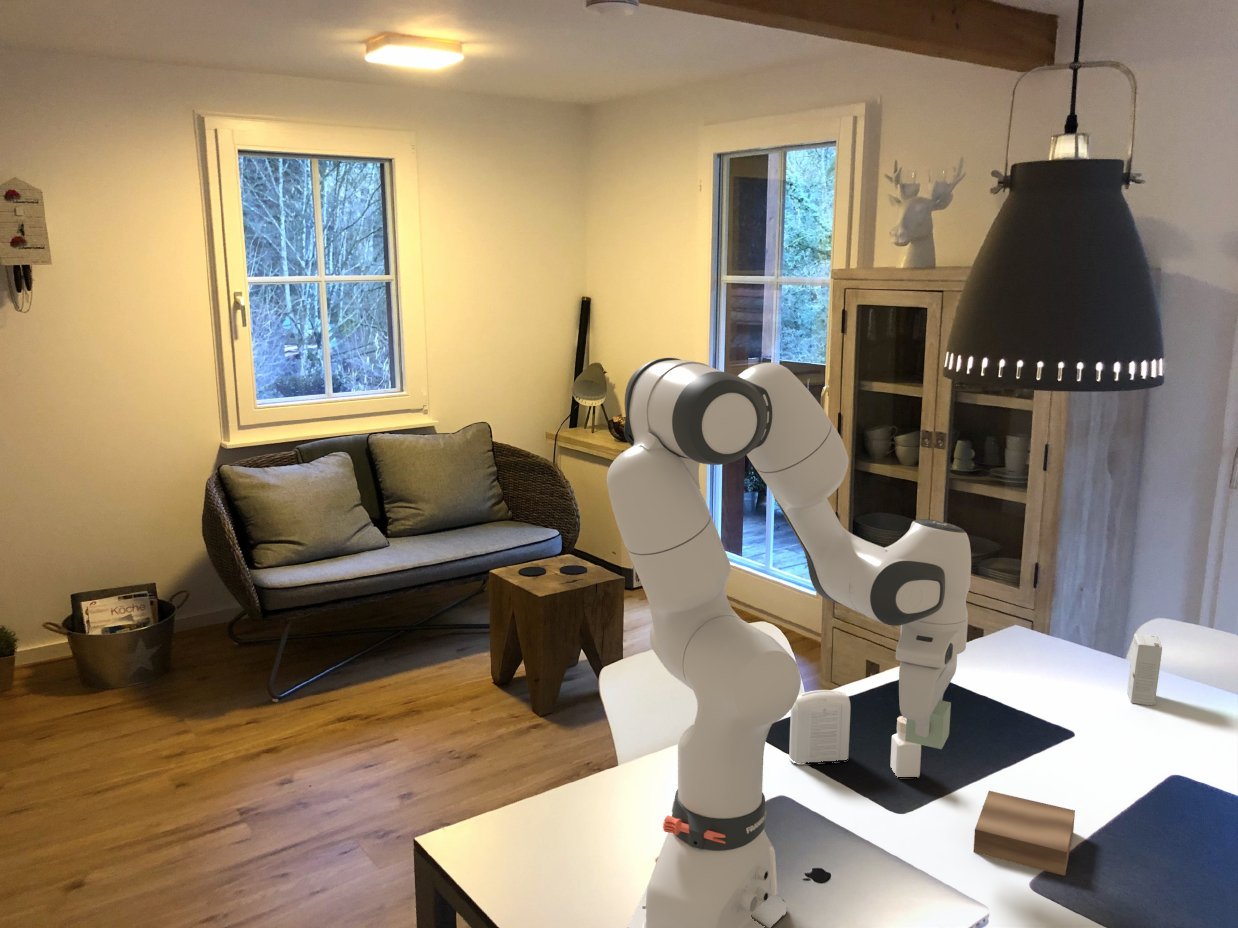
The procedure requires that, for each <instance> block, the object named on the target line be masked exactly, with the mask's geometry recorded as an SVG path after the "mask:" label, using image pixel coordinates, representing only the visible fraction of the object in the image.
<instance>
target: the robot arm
mask: <svg viewBox="0 0 1238 928" xmlns="http://www.w3.org/2000/svg"><path fill="white" fill-rule="evenodd" d="M623 404H624V415H625V418H624V426H623V435H624V438H625V440H626V442H628V444H629V445H630V447H629V448H627V449H625V450H624V451H623V452H621V453H620V454H619V455H617V456H616V458H615V459H614V460H613V461H612V462H611V464H610V465H609V468H608V470H607V473H606V475H607V476H606V484H607V485H606V486H607V492H608V495H609V502H610V505H611V509H612V512H613V516H614V519H615V522H616V526H617V529H618V531H619V534H620V537H621V539H622V542H623V544H624V546H625V549H626V551H627V552H628V553H627V554H628V556H629V558H630V560H631V562H632V565H633V567H634V569H635V572H636V574H637V576H638V578H639V581H640V584H641V586H642V588H643V591H644V593H645V596H646V599H647V602H648V605H649V609H650V610H649V611H650V615H651V619H652V622H651V625H650V629H649V642H650V645H651V649H652V651H653V653H654V654H655V656H656V657H657V659H658V661H659V662H660V663H661V664H662V666H663V667H664V668H665V669H666V671H668V673H669V674H670V675H671V676H673V677H674V678H675V679H677V680H678V681H680V682H681V684H683V685H685V686H686V687H687V688H688V689H690V690H691V691H693V693H694V696H695V699H696V704H697V705H696V706H697V708H696V709H697V710H696V716H695V720H694V722H693V724H691V725H690V726H689V727H687V728H686V729H685V730H684V731H683V732H682V733H681V735H680V737H679V739H678V742H677V789H676V791H675V795H674V799H673V802H672V807H671V816H670V815H666V816H665V818H664V819H663V823H662V828H663V829H662V831H664V832H665V833H667V834H666V837H665V839H664V842H663V844H662V847H661V850H660V853H659V855H658V856H657V860H656V862H655V865H654V868H653V870H652V873H651V876H650V879H649V881H648V884H647V886H646V888H645V890H644V892H643V894H642V897H641V898H640V900H639V902H638V905H637V906H636V909H635V910H634V912H633V915H632V917H631V919H630V921H629V923H628V925H627V928H764V927H765V926H762V925H761V924H759V923H758V922H757V921H754V919H752V917H751V914H752V913H754V911H755V910H756V909H757V908H758V907H759V906H760V905H761V904H762V903H763V902H766V901H767V899H768V898H769V897H770V896H772V895H776V894H778V884H777V883H778V881H777V880H778V879H777V863H776V851H775V848H774V845H772V843H771V841H770V839H769V838H768V835H767V833H766V831H765V826H766V817H767V804H766V798H765V794H764V792H763V782H764V781H763V779H764V778H763V776H764V775H763V774H764V756H765V755H764V754H765V753H764V752H765V745H766V742H767V738H768V735H769V733H770V729H771V727H772V725H773V724H775V723H777V722H779V721H780V720H781V719H782V718H784V717H785V716H786V715H787V714H789V713H790V712H791V708H792V707H793V705H794V703H795V702H796V699H797V697H798V695H799V694H800V690H801V683H802V682H801V681H802V680H801V679H802V678H801V671H800V669H799V668H800V667H799V665H798V664H797V662H796V661H795V659H794V658H793V657H792V656H791V654H790V653H789V652H788V651H787V649H785V648H784V647H783V646H782V644H780V642H778V640H776V639H775V638H774V637H773V636H771V635H769V634H768V633H766V632H765V631H763V630H760V629H759V628H757V627H756V626H754V625H752V624H750V623H749V622H747V621H745V620H743V619H742V618H741V617H740V616H739V615H738V614H737V613H736V612H735V610H734V609H733V608H732V605H730V603H729V602H730V601H729V599H728V596H727V591H726V585H727V582H729V578H730V577H731V561H730V560H729V558H728V554H727V553H726V549H725V547H724V545H723V542H722V540H721V537H720V533H719V532H718V529H717V526H716V525H715V522H714V519H713V517H712V514H711V511H710V510H709V507H708V505H707V502H706V500H705V497H704V495H703V494H702V492H701V485H700V478H699V477H700V476H699V471H700V465H701V464H703V465H711V466H720V465H726V464H727V465H728V464H730V463H734V462H736V461H738V460H740V459H742V458H743V457H745V456H747V458H748V459H749V462H751V464H752V466H753V467H754V469H755V470H756V471H757V473H758V474H759V476H760V478H761V479H762V480H763V482H764V483H765V484H766V486H767V488H768V489H769V491H771V494H772V496H773V498H774V500H775V502H776V504H777V506H778V508H779V510H780V511H781V513H782V515H783V517H784V519H785V521H786V522H787V524H788V525H789V527H790V528H791V530H792V532H793V535H795V537H796V539H797V541H798V542H799V545H800V547H801V548H802V550H803V552H804V553H803V554H804V555H805V559H806V563H807V569H808V574H809V578H810V582H811V584H812V586H813V588H814V589H815V591H816V593H817V594H818V595H820V596H821V597H822V598H823V599H826V600H827V601H830V602H833V603H835V604H839V605H842V606H845V607H847V608H849V609H850V610H853V611H854V612H856V613H859V614H861V615H863V616H866V617H868V618H870V619H872V620H874V621H876V622H878V623H881V624H884V625H887V626H893V627H896V626H897V627H898V626H900V627H899V628H900V629H899V630H900V631H899V632H900V633H899V638H898V641H897V644H896V647H895V648H896V649H895V660H897V661H899V662H900V663H899V669H898V670H899V671H898V696H899V697H898V700H899V711H900V715H901V716H903V717H904V718H907V719H912V720H915V723H916V727H915V733H916V734H917V735H918V736H922V737H927V736H928V735H929V733H930V730H931V729H930V728H931V722H930V716H931V714H932V713H933V711H934V709H935V707H936V706H937V704H938V702H939V700H941V701H943V698H944V694H945V692H946V690H947V688H948V686H949V685H950V683H951V681H952V679H953V678H954V676H955V675H956V671H957V666H958V665H957V663H958V655H959V654H961V653H963V652H964V651H965V650H966V649H967V636H968V622H969V612H968V608H967V595H968V593H969V590H970V588H971V578H972V577H971V576H972V574H971V573H972V552H971V543H970V538H969V536H968V534H967V532H966V531H965V530H964V529H963V528H961V527H960V526H957V525H954V524H951V523H948V522H945V521H944V522H943V521H939V520H937V519H936V520H935V519H930V518H929V519H927V518H919V519H916V520H913V521H912V522H911V524H910V527H909V529H908V531H906V533H905V534H904V535H903V536H901V538H899V539H898V540H897V541H895V542H894V543H892V544H890V545H888V546H885V547H883V546H881V545H879V544H875V543H872V542H871V541H868V540H865V539H863V538H861V537H860V536H857V535H856V534H853V533H852V532H850V531H848V530H847V529H846V528H844V526H843V525H842V524H841V522H840V520H839V518H838V517H837V514H836V513H835V511H834V509H833V507H832V505H831V504H830V501H829V500H828V498H830V496H831V495H832V494H834V493H835V492H836V491H837V489H838V488H839V487H840V486H841V484H842V483H843V481H844V480H845V477H846V475H847V471H848V467H849V462H850V461H849V459H850V458H849V455H848V452H847V449H846V447H845V444H844V441H843V438H841V436H840V433H839V432H838V430H837V429H836V427H835V425H834V424H833V422H832V421H831V419H830V417H829V416H828V414H827V413H826V412H825V409H824V408H823V407H822V406H821V404H820V403H819V402H818V400H817V399H816V397H814V395H813V394H812V393H811V391H810V390H808V388H807V387H806V386H805V385H804V383H803V382H802V381H801V380H800V379H799V378H798V377H797V376H796V375H795V374H794V373H793V372H792V371H791V370H790V369H789V368H788V367H786V366H784V365H783V364H779V363H776V362H761V363H759V364H754V365H753V366H750V367H747V368H746V369H745V370H743V371H742V372H741V373H739V374H738V375H736V374H733V373H730V372H727V371H722V370H721V369H720V370H719V369H717V368H714V367H712V366H710V365H708V364H706V363H703V362H698V361H695V360H683V359H680V358H675V357H664V358H663V357H662V358H657V359H653V360H650V361H648V362H646V363H644V364H642V365H641V366H640V367H639V368H637V369H636V370H635V371H634V373H633V374H632V375H631V376H630V378H629V379H628V383H627V385H626V388H625V393H624V402H623ZM629 435H630V436H631V437H630V436H629ZM632 439H633V440H632Z"/></svg>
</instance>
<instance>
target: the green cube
mask: <svg viewBox="0 0 1238 928" xmlns="http://www.w3.org/2000/svg"><path fill="white" fill-rule="evenodd" d="M951 706H952V702H950V701H946V700H942V701H941V700H939V702H938V704H937V706H936V707H935V709H934V711H933V713H932V714H931V716H930V722H931V728H930V729H931V730H930V733H929V735H928V736H927V737H922V736H918V735H917V734H916V733H915V727H916V723H915V720H912V719H907V721H906V739H905V741H907V742H911V743H915V744H920V745H921V746H924V747H925V746H926V747H930V748H933V749H939V750H942V749H943V747H944V745H945V743H946V741H948V738H949V736H950V727H951V726H950V724H951V722H950V721H951V710H952V709H951V708H952V707H951Z"/></svg>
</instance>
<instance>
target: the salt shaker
mask: <svg viewBox="0 0 1238 928" xmlns="http://www.w3.org/2000/svg"><path fill="white" fill-rule="evenodd" d="M896 720H897V722H896V733H894V734H892V735H891V742H890V743H891V745H890V763H889V764H890V769H891V768H892V769H891V770H892V772H893V773H895V774H894V775H895V777H896V776H897V777H896V778H898V777H917V778H920V776H921V757H922V745H920V744H915V743H911V742H907V741H905V739H906V721H907V718H904V717H903V716H902V715H899V716H898V717H897V718H896Z"/></svg>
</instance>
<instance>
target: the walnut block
mask: <svg viewBox="0 0 1238 928" xmlns="http://www.w3.org/2000/svg"><path fill="white" fill-rule="evenodd" d="M1075 814H1076V809H1075V810H1074V809H1071V808H1065V807H1062V806H1061V807H1060V806H1058V805H1053V804H1049V803H1045V802H1039V801H1037V800H1032V799H1029V798H1028V799H1027V798H1023V797H1018V796H1013V795H1009V794H1005V793H1000V792H997V791H993V790H992V791H991V790H988V792H987V794H986V798H985V800H984V803H983V806H982V808H981V810H980V814H979V817H978V819H977V822H976V825H975V828H974V836H973V838H974V840H973V853H975V854H980V855H983V856H987V857H991V858H993V859H994V858H995V859H999V860H1001V861H1002V860H1003V861H1007V862H1009V863H1014V864H1018V865H1022V866H1025V867H1030V868H1033V869H1037V870H1041V871H1044V872H1048V873H1051V874H1057V875H1059V876H1066V873H1067V868H1068V862H1069V857H1070V851H1071V846H1072V841H1073V836H1074V828H1075V826H1074V825H1075V817H1076V816H1075Z"/></svg>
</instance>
